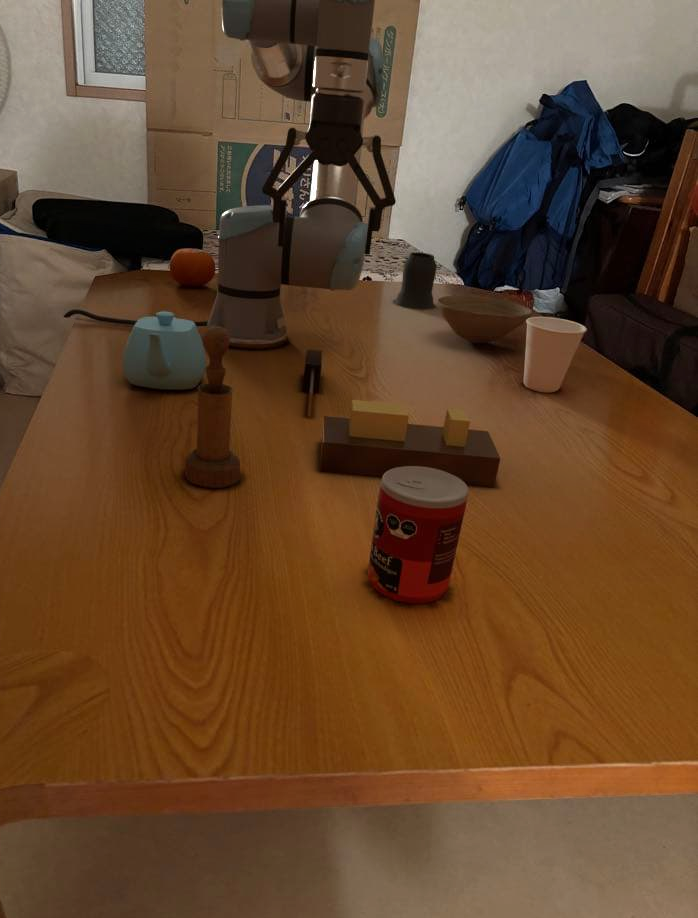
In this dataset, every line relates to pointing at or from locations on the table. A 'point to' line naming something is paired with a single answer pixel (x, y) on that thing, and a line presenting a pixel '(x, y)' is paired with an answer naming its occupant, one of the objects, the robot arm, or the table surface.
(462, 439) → the butter slice
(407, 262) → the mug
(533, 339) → the cup
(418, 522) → the canned food
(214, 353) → the mortar and pestle
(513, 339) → the table surface
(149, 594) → the table surface
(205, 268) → the fruit
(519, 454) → the table surface
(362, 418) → the butter
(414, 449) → the board
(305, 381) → the knife
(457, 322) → the bowl
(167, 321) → the teapot
